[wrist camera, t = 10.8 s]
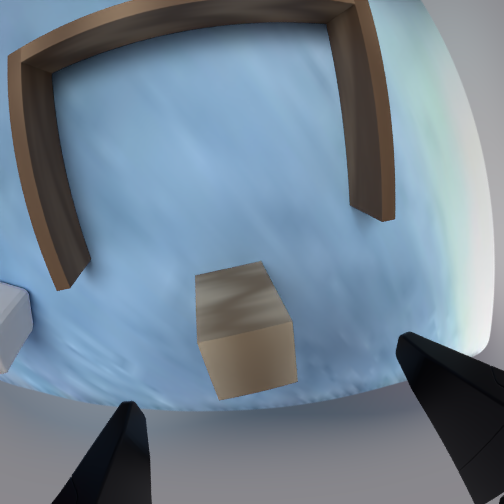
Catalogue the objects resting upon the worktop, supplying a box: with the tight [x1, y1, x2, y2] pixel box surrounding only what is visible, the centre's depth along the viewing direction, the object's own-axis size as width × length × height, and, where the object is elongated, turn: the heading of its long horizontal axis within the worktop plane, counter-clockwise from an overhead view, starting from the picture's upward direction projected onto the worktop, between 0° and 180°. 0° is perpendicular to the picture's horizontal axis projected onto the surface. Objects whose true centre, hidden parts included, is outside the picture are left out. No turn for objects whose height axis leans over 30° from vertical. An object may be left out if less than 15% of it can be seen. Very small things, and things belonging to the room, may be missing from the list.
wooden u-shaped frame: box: [8, 0, 395, 291], centre depth 13 cm, size 20×14×4 cm
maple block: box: [195, 261, 298, 400], centre depth 17 cm, size 4×4×7 cm
